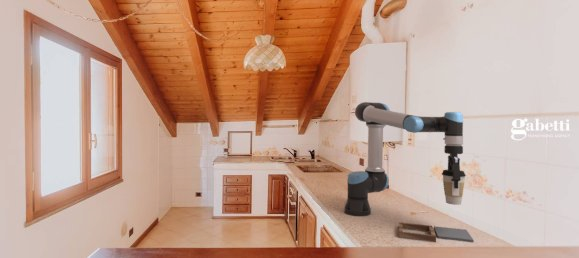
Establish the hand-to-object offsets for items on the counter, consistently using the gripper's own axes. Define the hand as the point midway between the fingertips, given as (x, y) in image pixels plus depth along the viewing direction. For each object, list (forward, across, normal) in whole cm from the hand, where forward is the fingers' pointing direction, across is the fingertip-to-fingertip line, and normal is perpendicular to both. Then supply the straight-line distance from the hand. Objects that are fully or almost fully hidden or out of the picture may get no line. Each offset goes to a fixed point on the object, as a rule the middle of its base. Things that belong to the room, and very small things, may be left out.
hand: (453, 193), depth 140 cm
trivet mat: (+20, 0, 0) cm, 20 cm away
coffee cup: (+5, 0, 0) cm, 5 cm away
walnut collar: (+20, +5, -16) cm, 26 cm away
